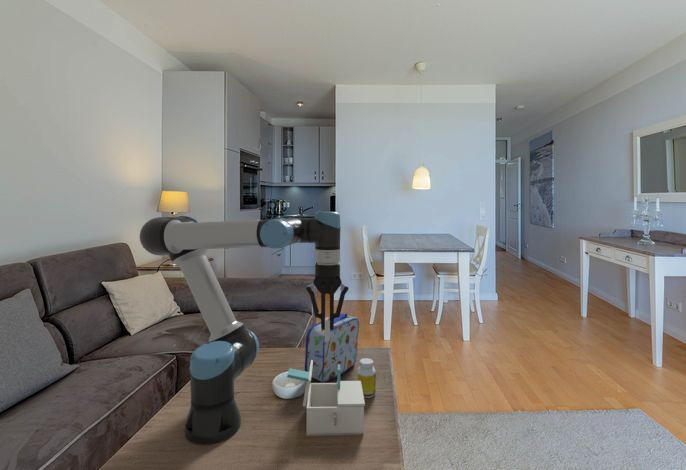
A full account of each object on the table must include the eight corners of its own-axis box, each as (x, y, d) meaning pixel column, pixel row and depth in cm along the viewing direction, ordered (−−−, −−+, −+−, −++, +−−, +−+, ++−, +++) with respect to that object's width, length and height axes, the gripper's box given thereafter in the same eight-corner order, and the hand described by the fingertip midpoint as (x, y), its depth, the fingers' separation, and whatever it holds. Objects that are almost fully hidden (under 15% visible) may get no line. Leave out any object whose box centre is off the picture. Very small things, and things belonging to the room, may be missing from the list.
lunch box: (340, 356, 151) (341, 306, 150) (361, 361, 146) (362, 310, 144) (301, 382, 128) (301, 323, 126) (324, 390, 123) (324, 328, 121)
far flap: (360, 382, 111) (361, 362, 111) (364, 406, 98) (365, 383, 98) (336, 383, 111) (337, 362, 111) (337, 406, 98) (338, 383, 98)
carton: (305, 440, 96) (306, 412, 95) (309, 407, 112) (309, 383, 111) (364, 440, 96) (364, 412, 96) (359, 406, 112) (359, 382, 112)
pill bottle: (374, 399, 117) (375, 366, 116) (355, 397, 118) (355, 364, 117) (376, 390, 123) (377, 358, 122) (358, 388, 124) (358, 356, 124)
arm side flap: (305, 406, 98) (281, 401, 97) (308, 383, 111) (287, 379, 110) (310, 380, 97) (287, 376, 97) (313, 360, 110) (292, 356, 110)
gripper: (304, 265, 101) (305, 344, 103) (350, 265, 102) (349, 344, 103) (306, 261, 109) (306, 335, 110) (348, 261, 109) (348, 335, 111)
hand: (327, 339), depth 107 cm, fingers closed
